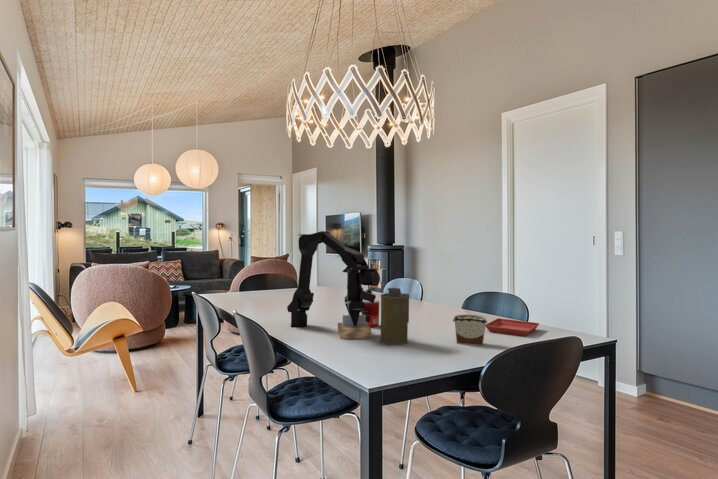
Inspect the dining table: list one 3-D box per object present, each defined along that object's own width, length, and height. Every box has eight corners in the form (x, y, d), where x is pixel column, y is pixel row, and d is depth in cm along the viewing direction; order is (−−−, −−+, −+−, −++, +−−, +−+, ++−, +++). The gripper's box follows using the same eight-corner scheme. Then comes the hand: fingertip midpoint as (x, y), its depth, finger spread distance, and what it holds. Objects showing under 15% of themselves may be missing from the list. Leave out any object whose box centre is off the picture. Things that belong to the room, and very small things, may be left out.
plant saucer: (528, 338, 185) (528, 330, 185) (483, 332, 195) (483, 324, 195) (539, 330, 200) (540, 323, 200) (497, 325, 210) (497, 318, 210)
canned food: (379, 324, 210) (379, 299, 209) (378, 327, 202) (378, 301, 201) (362, 323, 210) (362, 298, 210) (360, 327, 202) (360, 301, 202)
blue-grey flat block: (342, 333, 185) (342, 315, 185) (342, 332, 187) (342, 314, 187) (365, 333, 187) (365, 315, 186) (364, 332, 189) (365, 314, 188)
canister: (388, 346, 170) (389, 290, 169) (375, 339, 179) (375, 287, 179) (414, 343, 174) (415, 289, 174) (400, 337, 184) (400, 286, 183)
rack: (340, 338, 180) (340, 328, 180) (337, 331, 192) (337, 322, 192) (371, 338, 182) (371, 328, 182) (366, 331, 194) (367, 322, 194)
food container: (488, 342, 177) (488, 315, 177) (487, 346, 171) (487, 318, 171) (454, 339, 181) (455, 313, 181) (452, 343, 175) (453, 316, 175)
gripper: (378, 287, 178) (377, 328, 179) (371, 281, 197) (370, 318, 197) (348, 287, 177) (348, 328, 177) (344, 281, 196) (344, 319, 196)
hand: (354, 323), depth 187 cm, fingers open, 8 cm apart
